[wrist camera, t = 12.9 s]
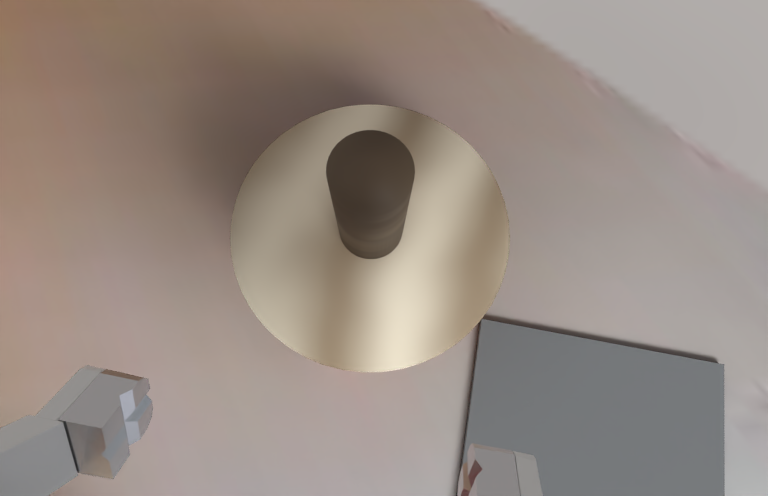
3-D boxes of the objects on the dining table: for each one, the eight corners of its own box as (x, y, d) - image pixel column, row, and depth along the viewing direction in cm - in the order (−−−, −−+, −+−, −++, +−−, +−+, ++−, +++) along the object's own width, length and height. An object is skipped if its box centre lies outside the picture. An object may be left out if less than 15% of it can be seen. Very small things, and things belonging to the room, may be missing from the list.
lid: (518, 138, 26) (578, 40, 19) (486, 397, 23) (545, 409, 15) (272, 94, 27) (232, -20, 19) (202, 342, 23) (117, 326, 15)
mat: (719, 364, 29) (724, 364, 29) (719, 646, 26) (724, 650, 25) (480, 319, 30) (481, 318, 29) (444, 591, 26) (445, 594, 26)
